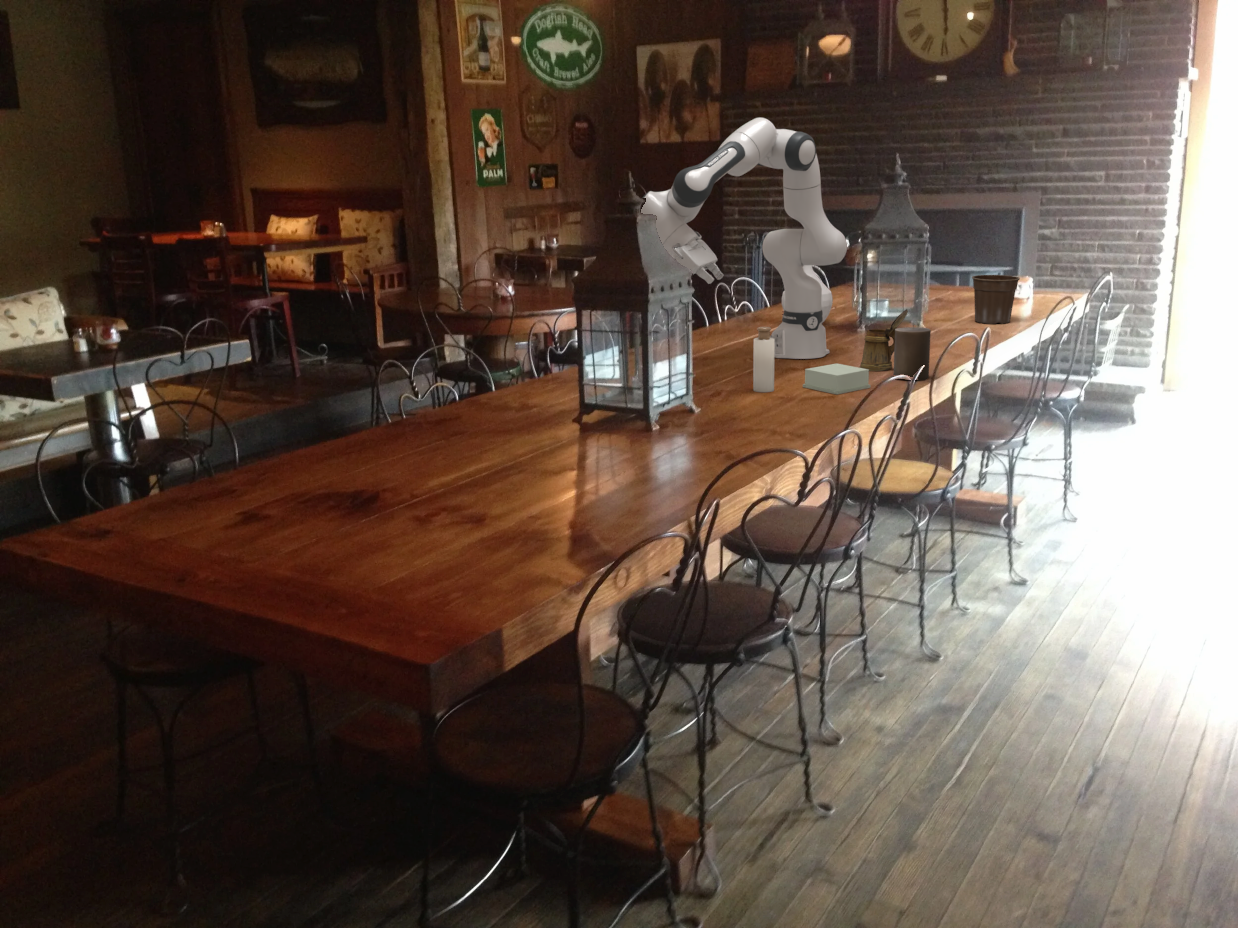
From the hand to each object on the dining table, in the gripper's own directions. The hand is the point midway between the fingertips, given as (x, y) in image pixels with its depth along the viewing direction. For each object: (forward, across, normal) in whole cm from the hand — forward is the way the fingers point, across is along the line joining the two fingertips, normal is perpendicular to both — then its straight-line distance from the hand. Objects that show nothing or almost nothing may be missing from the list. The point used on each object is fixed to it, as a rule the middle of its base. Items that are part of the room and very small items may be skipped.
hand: (716, 280), depth 303 cm
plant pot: (+68, +130, -28) cm, 150 cm away
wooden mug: (+50, +35, -8) cm, 61 cm away
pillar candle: (+56, +24, -14) cm, 63 cm away
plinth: (+43, +6, -2) cm, 44 cm away
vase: (+23, +112, +18) cm, 116 cm away
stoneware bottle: (+30, -1, +11) cm, 32 cm away
